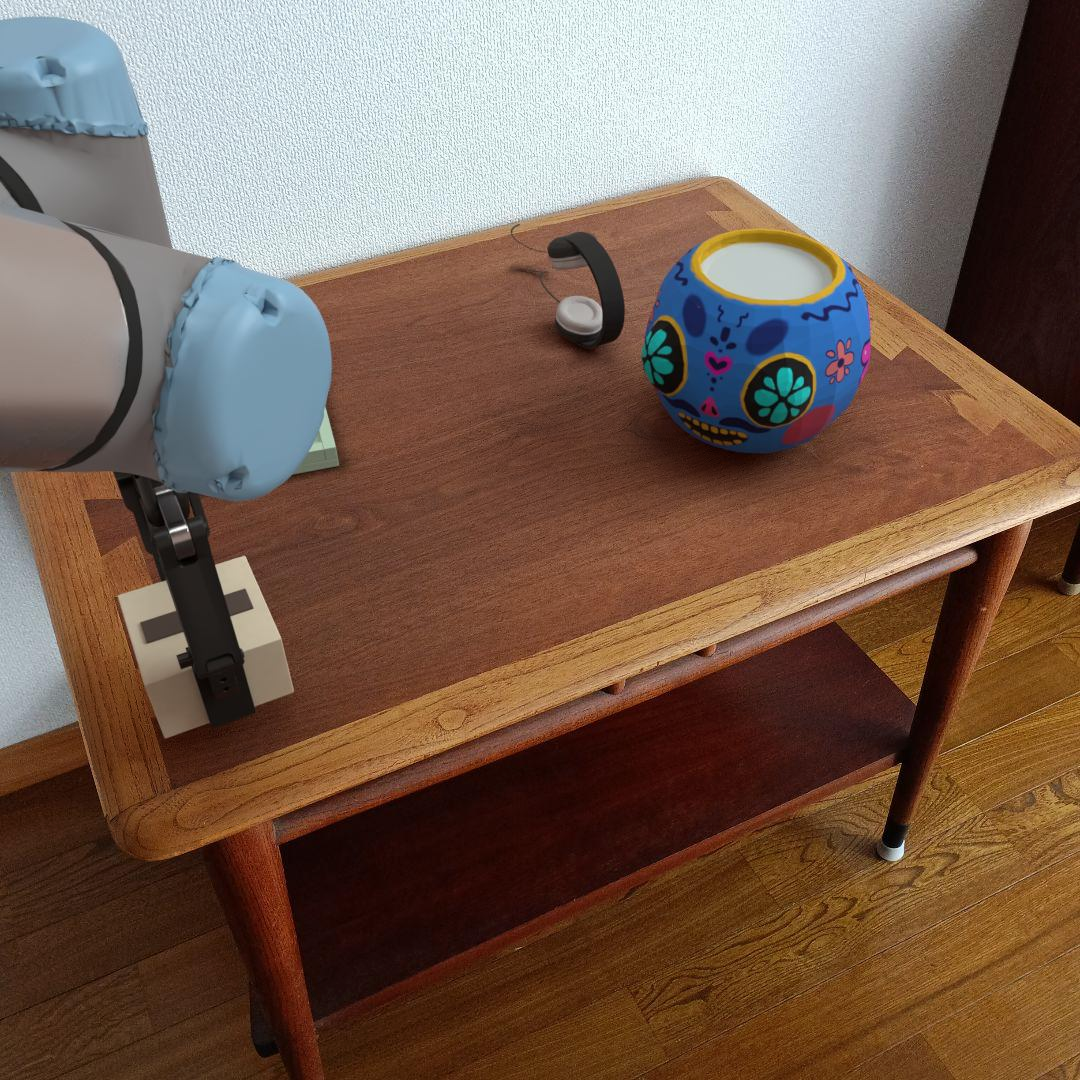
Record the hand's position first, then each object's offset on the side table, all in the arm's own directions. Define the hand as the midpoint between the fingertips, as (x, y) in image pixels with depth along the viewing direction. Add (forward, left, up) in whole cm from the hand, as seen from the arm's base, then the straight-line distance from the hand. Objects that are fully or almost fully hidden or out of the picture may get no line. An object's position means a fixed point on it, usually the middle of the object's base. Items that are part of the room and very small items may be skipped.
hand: (214, 667), depth 70 cm
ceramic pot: (+47, -7, -4) cm, 48 cm away
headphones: (+49, +16, -4) cm, 51 cm away
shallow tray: (+18, +22, -3) cm, 29 cm away
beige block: (0, 0, 0) cm, 0 cm away
